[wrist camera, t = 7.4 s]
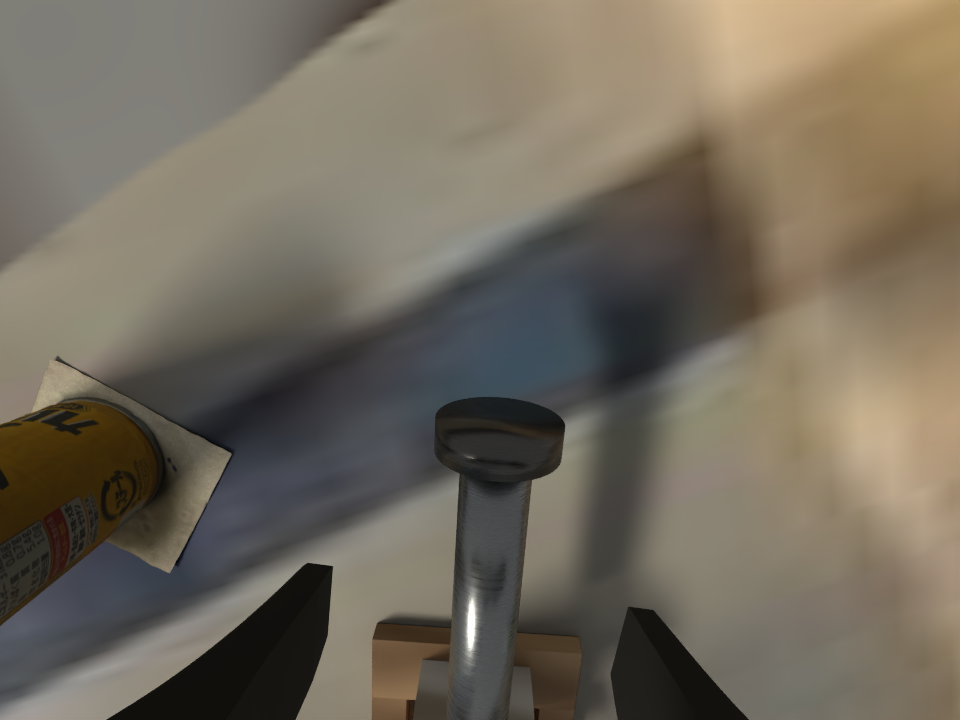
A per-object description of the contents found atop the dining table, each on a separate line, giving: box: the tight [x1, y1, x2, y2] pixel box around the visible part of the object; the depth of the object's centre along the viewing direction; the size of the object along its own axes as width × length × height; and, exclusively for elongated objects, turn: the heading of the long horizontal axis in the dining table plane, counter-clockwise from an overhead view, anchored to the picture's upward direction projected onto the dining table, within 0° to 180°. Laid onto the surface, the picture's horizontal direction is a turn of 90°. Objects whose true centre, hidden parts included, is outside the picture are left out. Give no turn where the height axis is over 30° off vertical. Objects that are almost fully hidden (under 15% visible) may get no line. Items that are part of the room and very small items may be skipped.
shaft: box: [434, 397, 565, 720], centre depth 17 cm, size 15×4×4 cm, turn 177°
